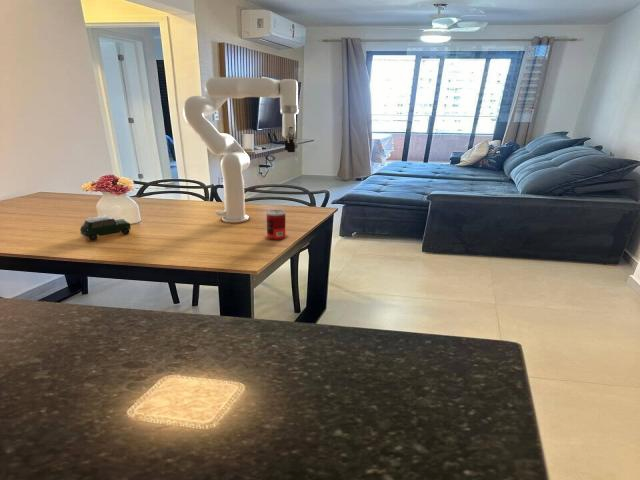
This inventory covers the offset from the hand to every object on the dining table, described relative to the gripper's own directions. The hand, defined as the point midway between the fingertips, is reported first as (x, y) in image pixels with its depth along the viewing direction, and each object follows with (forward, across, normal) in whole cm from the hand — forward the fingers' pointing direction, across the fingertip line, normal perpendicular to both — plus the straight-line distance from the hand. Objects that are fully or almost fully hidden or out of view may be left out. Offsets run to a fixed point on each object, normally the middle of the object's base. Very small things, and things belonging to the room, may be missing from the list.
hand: (289, 151), depth 169 cm
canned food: (+34, +19, -8) cm, 40 cm away
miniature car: (+33, +8, -78) cm, 85 cm away
